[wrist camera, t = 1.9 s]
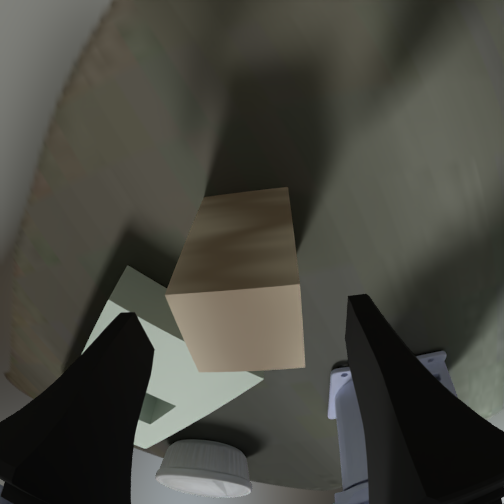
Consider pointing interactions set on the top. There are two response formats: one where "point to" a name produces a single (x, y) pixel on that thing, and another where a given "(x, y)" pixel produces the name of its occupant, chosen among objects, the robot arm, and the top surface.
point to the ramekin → (205, 469)
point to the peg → (240, 285)
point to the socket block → (169, 363)
